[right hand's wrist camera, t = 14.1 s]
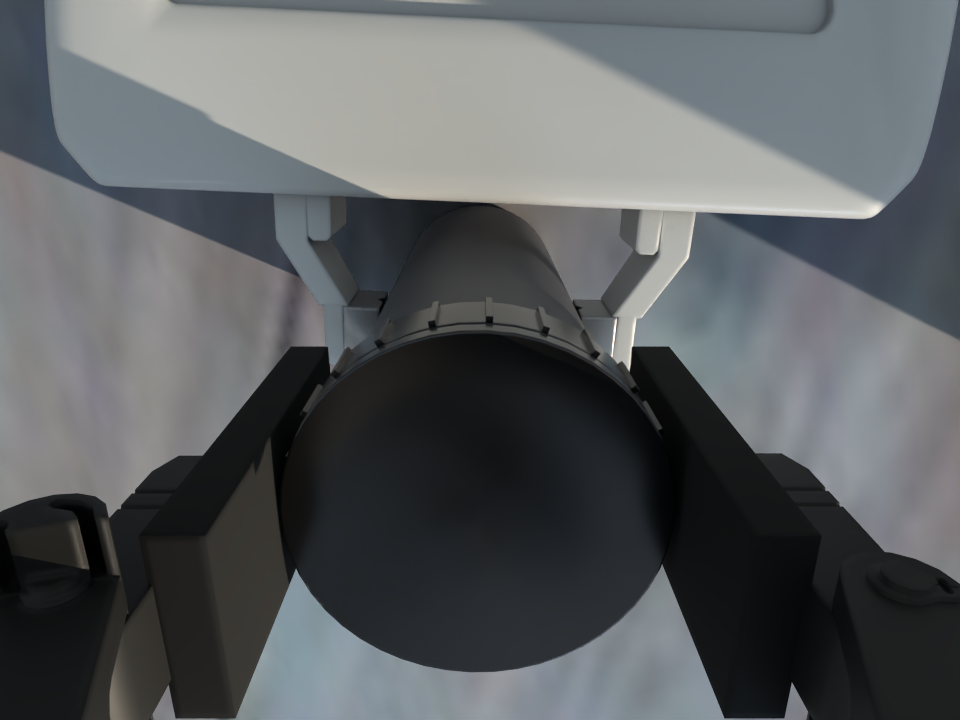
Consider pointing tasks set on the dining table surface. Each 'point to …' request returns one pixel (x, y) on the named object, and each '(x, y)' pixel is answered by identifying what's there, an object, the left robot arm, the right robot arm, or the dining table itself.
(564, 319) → the jar
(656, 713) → the dining table surface
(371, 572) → the lid
